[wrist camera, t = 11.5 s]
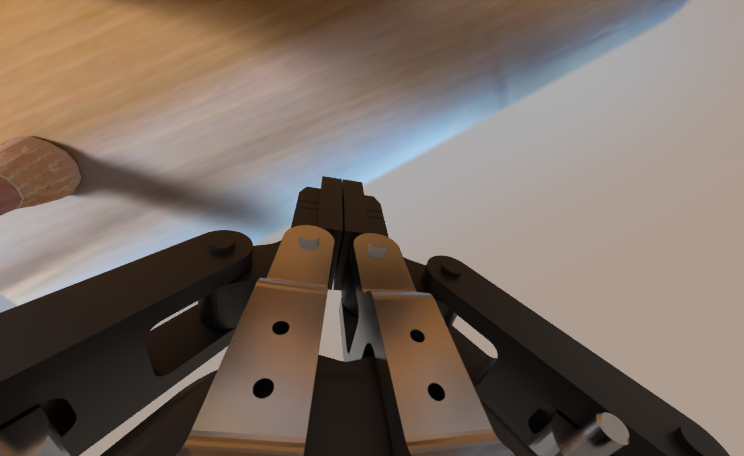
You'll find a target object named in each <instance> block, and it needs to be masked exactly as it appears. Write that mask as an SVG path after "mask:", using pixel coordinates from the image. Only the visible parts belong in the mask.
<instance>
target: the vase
mask: <svg viewBox="0 0 744 456" xmlns="http://www.w3.org/2000/svg"><path fill="white" fill-rule="evenodd" d="M81 180H82V178H81V175H80V171H79V168H78V165H77V163H76V162H75V161H74V159H73V158H72V157H71V156H70V155H69V154H68V153H67V152H66V151H65V150H63V149H61V148H59V147H57V146H56V145H54V144H52V143H50V142H48V141H44V140H41V139H38V138H35V137H20V138H13V139H10V140H8V141H5V142H4V143H2V144H0V215H2V214H5V213H7V212H9V211H12V210H14V209H18V208H24V207H30V206H36V205H39V204H43V203H47V202H50V201H54V200H58V199H61V198H63V197H66V196H68V195H70V194H71V193H73V192H75V190H76V188H77V187H78V185H79V183H80V181H81Z"/></svg>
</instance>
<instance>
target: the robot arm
mask: <svg viewBox="0 0 744 456" xmlns="http://www.w3.org/2000/svg"><path fill="white" fill-rule="evenodd" d="M333 279H334V290H342V298H341V302H340V307H339V316H340V326H341V336H342V347H343V357H344V362H343V361H338V360H335V359H331V358H328V357H325V356H321V355H318V353H319V346H320V339H321V332H322V326H323V319H324V312H325V305H326V299H327V291H328V289H329V290H331V289H332V284H333ZM196 301H198V304H197V305H195V306H193V307H192V308H190V309H188V310H186V311H185V312H183V313H181V314H179V315H178V316H176V317H174V318H172V319H171V320H169V321H167V322H165V323H164V324H162V325H160V326H158V327H157V328H155V329H153V330H151V329H152V327H154V326H155V325H156V324H157V323H159V322H160V321H162V320H164V319H165V318H167V317H169V316H171V315H173V314H174V313H176V312H178V311H180V310H181V309H183V308H185V307H187V306H189V305H190V304H192V303H194V302H196ZM457 315H458V316H459V317H461V318H462V319H463V320H464V321H466V322H467V323H468V324H469V325H470V326H472V327H473V328H474V329H476V330H477V331H478V332H479V333H480V334H482V335H483V336H484V337H485V338H487V339H488V340H489V341H490V342H491V343H492V344H493V345H494V346H495V348H496V350H497V353H498V358H492V357H490V356H488V355H486V354H485V353H484V352H483V351H482V350H481V349H479V348H478V347H477V346H476V345H475V344H473V343H472V342H471V341H470V340H469V339H468V338H466V337H465V336H464V335H463V334H462V333H460V332H459V331H458V330H457V329H455V328H454V327H453V326H452V324H453V322H454V320H455V318H456V317H457ZM150 330H151V331H150ZM228 345H229V346H228ZM227 346H228V348H227V351H226V353H225V355H224V358H223V360H222V362H221V364H220V366H219V369H218V370H216V371H214V372H211V373H210V374H208V375H206V376H204V377H202V378H200V379H198V380H196V381H195V382H194V383H192V384H190V385H189V386H187V387H186V388H184V389H183V390H182V391H180V392H179V393H178V394H176V395H175V396H174V397H173V398H171V399H170V400H169V401H168V402H166V403H165V404H164V405H163V406H161V407H160V408H159V409H158V410H156V411H155V412H154V413H153V414H151V415H150V416H149V417H148V418H146V419H145V420H144V421H143V422H141V423H140V424H139V425H138V426H136V427H135V428H134V429H133V430H132V431H130V432H129V433H128V434H126V435H125V436H124V437H123V438H121V439H120V440H119V441H118V442H116V443H115V444H114V445H113V446H111V447H110V448H109V449H108V450H106V451H105V452H104V453H103V454H102V455H100V456H730V455H729V454H728V453H727V452H726V450H725V449H724V448H723V447H722V446H721V445H720V444H719V443H718V442H717V441H716V440H715V439H714V438H713V437H712V436H711V435H710V434H709V433H708V432H707V431H706V430H704V429H703V428H702V427H701V426H699V425H698V424H697V423H695V422H694V421H692V420H691V419H689V418H688V417H687V416H685V415H684V414H682V413H681V412H679V411H678V410H676V409H675V408H674V407H672V406H671V405H669V404H668V403H666V402H665V401H663V400H662V399H660V398H659V397H657V396H656V395H654V394H653V393H652V392H650V391H649V390H647V389H646V388H644V387H643V386H641V385H640V384H638V383H637V382H636V381H634V380H633V379H631V378H630V377H628V376H627V375H625V374H624V373H623V372H621V371H620V370H618V369H617V368H615V367H614V366H612V365H611V364H609V363H608V362H606V361H605V360H603V359H602V358H601V357H599V356H598V355H596V354H595V353H593V352H592V351H590V350H589V349H588V348H586V347H585V346H583V345H582V344H580V343H579V342H577V341H576V340H574V339H573V338H571V337H570V336H569V335H567V334H566V333H564V332H563V331H561V330H560V329H558V328H557V327H555V326H554V325H553V324H551V323H550V322H548V321H547V320H545V319H544V318H542V317H541V316H539V315H538V314H536V313H535V312H534V311H532V310H531V309H529V308H528V307H526V306H525V305H523V304H522V303H520V302H519V301H517V300H516V299H515V298H513V297H512V296H510V295H509V294H507V293H506V292H504V291H503V290H501V289H500V288H498V287H497V286H496V285H494V284H493V283H491V282H490V281H488V280H487V279H485V278H484V277H482V276H481V275H480V274H478V273H477V272H475V271H474V270H472V269H471V268H469V267H468V266H466V265H465V264H463V263H462V262H460V261H458V260H456V259H454V258H451V257H448V256H434V257H432V258H430V259H429V260H428V263H427V265H423V264H420V263H417V262H414V261H411V260H408V259H406V258H404V257H403V256H402V253H401V251H400V248H399V246H398V245H397V244H396V243H395V242H394V241H393V240H392V239H390V238H389V237H388V233H387V229H386V225H385V221H384V217H383V213H382V209H381V205H380V203H379V202H378V201H377V200H376V199H375V198H374V197H372V196H366V195H364V192H363V185H362V182H356V181H350V180H344V179H343V181H342V179H337V178H331V177H324V176H323V177H322V184H321V189H319V188H312V187H306V188H304V189H303V190H302V191H301V192H299V196H298V201H297V205H296V209H295V213H294V217H293V221H292V226H291V228H290V229H289V230H288V231H286V232H285V234H284V236H283V239H282V240H281V241H279V242H276V243H273V244H268V245H259V246H253V244H252V241H251V240H250V238H249V237H247V236H246V235H244V234H242V233H240V232H236V231H230V230H219V231H212V232H208V233H205V234H203V235H200V236H198V237H195V238H192V239H190V240H187V241H185V242H182V243H180V244H177V245H174V246H172V247H169V248H167V249H164V250H161V251H159V252H156V253H154V254H151V255H149V256H146V257H143V258H141V259H138V260H136V261H133V262H130V263H128V264H125V265H123V266H120V267H118V268H115V269H112V270H110V271H107V272H105V273H102V274H100V275H97V276H94V277H92V278H89V279H87V280H84V281H81V282H79V283H76V284H74V285H71V286H69V287H66V288H63V289H61V290H58V291H56V292H53V293H51V294H48V295H45V296H43V297H40V298H38V299H35V300H32V301H30V302H27V303H25V304H22V305H20V306H17V307H14V308H12V309H9V310H7V311H4V312H2V313H0V456H79V455H80V454H81V453H83V452H84V451H86V450H87V449H88V448H90V447H91V446H92V445H94V444H95V443H96V442H98V441H99V440H100V439H102V438H103V437H104V436H106V435H107V434H109V433H110V432H111V431H113V430H114V429H115V428H117V427H118V426H120V425H121V424H122V423H124V422H125V421H126V420H127V419H129V418H130V417H132V416H133V415H135V414H136V413H137V412H138V411H140V410H141V409H143V408H144V407H145V406H147V405H148V404H149V403H151V402H152V401H153V400H155V399H156V398H158V397H159V396H160V395H162V394H163V393H164V392H166V391H167V390H168V389H170V388H171V387H172V386H174V385H175V384H177V383H178V382H179V381H181V380H182V379H183V378H185V377H186V376H187V375H189V374H190V373H191V372H193V371H194V370H196V369H197V368H198V367H200V366H201V365H202V364H204V363H205V362H207V361H208V360H209V359H210V358H212V357H213V356H215V355H216V354H217V353H219V352H220V351H222V350H223V349H224V348H226V347H227Z"/></svg>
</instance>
